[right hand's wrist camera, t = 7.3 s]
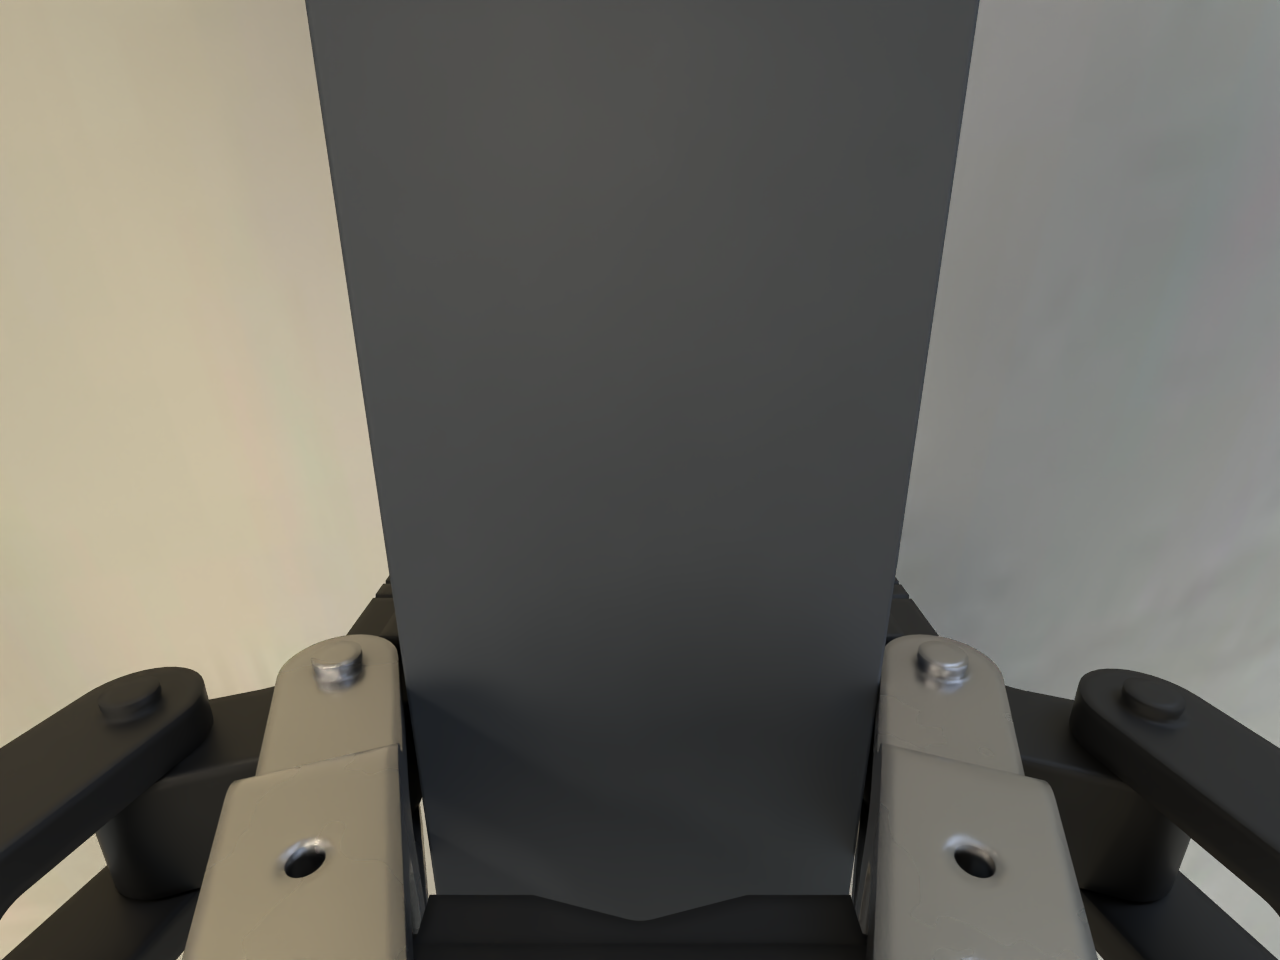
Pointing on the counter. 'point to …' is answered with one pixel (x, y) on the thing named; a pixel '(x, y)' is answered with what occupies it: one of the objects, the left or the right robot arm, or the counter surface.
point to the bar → (642, 414)
